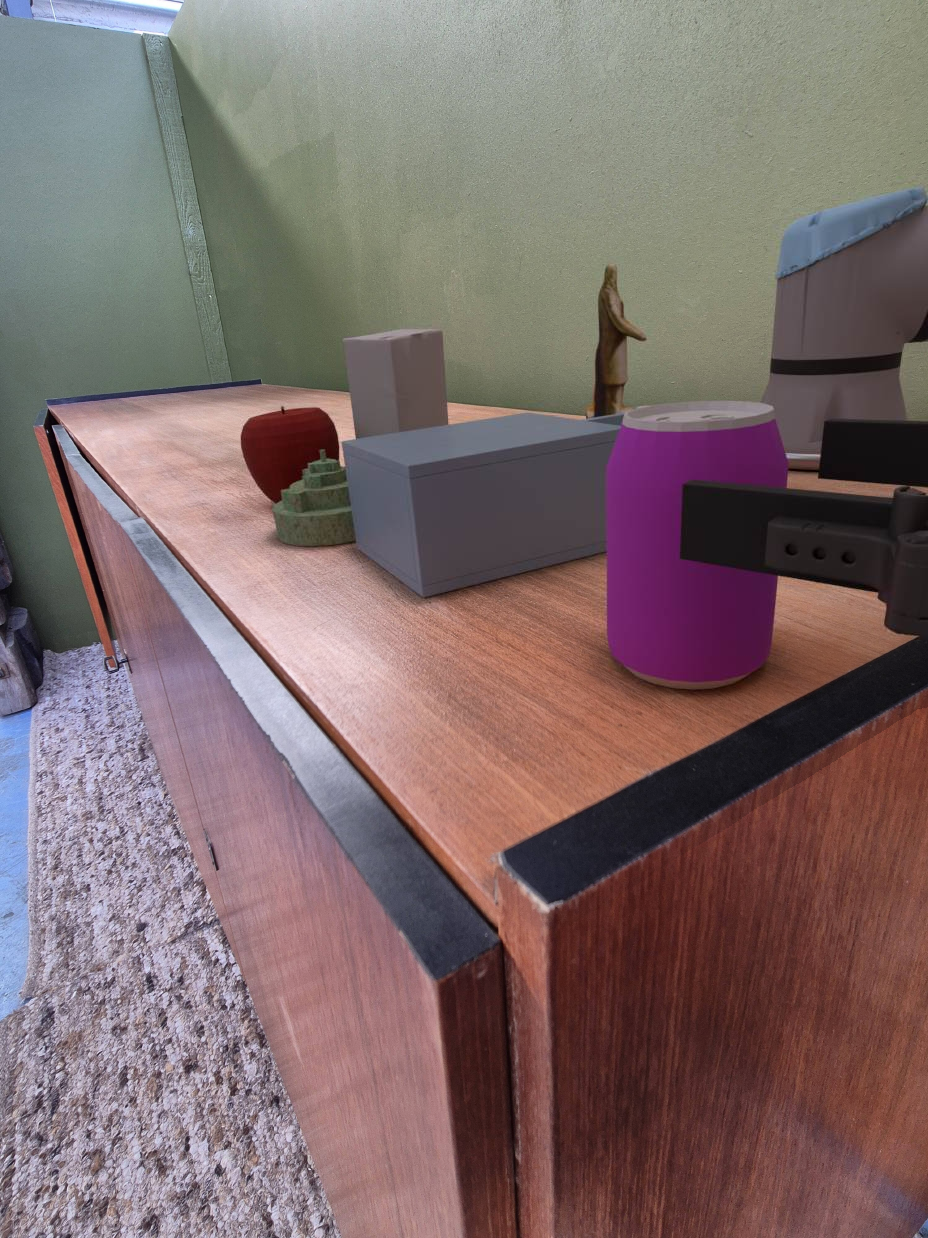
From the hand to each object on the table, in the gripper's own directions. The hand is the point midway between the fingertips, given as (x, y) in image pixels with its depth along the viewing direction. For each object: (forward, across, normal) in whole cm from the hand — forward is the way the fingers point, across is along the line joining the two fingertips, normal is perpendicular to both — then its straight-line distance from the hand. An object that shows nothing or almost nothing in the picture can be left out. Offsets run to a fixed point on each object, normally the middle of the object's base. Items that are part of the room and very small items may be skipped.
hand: (763, 478), depth 30 cm
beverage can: (+3, 0, -10) cm, 10 cm away
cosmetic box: (+45, +20, -10) cm, 50 cm away
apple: (+52, +10, -10) cm, 53 cm away
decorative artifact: (+40, +6, -10) cm, 42 cm away
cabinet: (+24, +9, -9) cm, 28 cm away
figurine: (+29, +35, -10) cm, 47 cm away
